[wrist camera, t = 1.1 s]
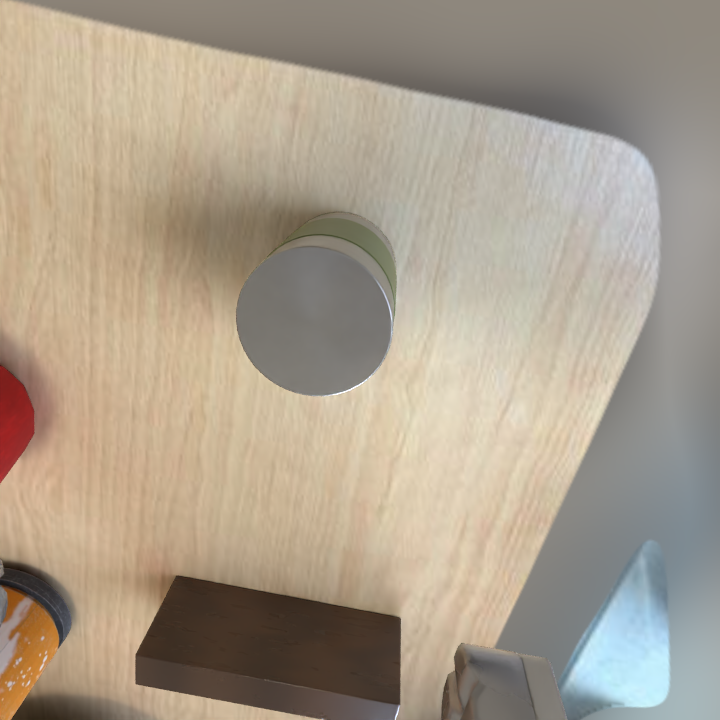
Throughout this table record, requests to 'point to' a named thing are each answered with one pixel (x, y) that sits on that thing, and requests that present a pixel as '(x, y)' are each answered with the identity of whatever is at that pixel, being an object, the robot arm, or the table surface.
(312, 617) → the brown wooden block
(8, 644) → the canister
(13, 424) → the apple
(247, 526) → the table surface
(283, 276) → the can
